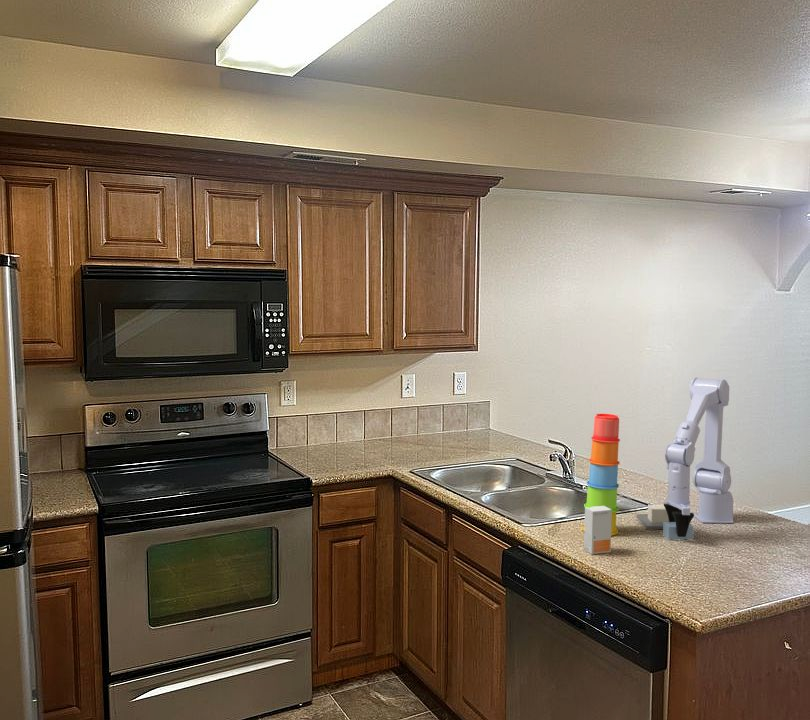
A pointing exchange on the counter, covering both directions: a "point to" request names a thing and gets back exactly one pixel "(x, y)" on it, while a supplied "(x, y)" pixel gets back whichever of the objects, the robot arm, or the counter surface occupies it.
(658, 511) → the cream brick
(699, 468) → the robot arm
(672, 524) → the blue brick
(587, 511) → the skincare box
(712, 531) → the counter surface
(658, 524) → the baseplate
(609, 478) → the stacking cups
